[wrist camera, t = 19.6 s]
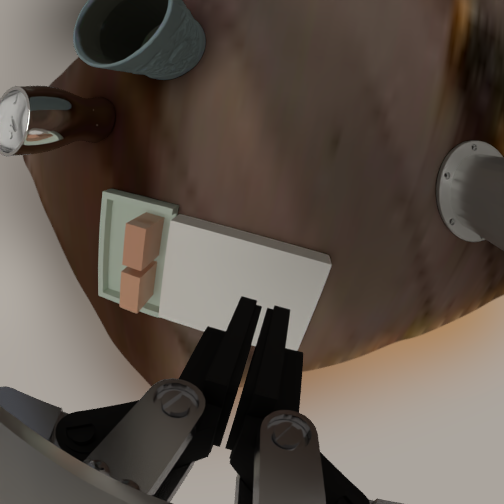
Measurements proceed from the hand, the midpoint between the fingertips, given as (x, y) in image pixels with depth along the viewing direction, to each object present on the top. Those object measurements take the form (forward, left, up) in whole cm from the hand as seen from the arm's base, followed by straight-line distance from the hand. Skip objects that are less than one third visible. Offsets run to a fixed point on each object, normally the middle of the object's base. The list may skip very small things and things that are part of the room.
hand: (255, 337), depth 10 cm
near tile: (+13, +8, -21) cm, 26 cm away
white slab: (+2, +11, -25) cm, 27 cm away
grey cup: (+17, -15, -25) cm, 34 cm away
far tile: (+13, +14, -21) cm, 28 cm away
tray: (+16, +11, -25) cm, 31 cm away
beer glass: (+25, -5, -25) cm, 36 cm away
